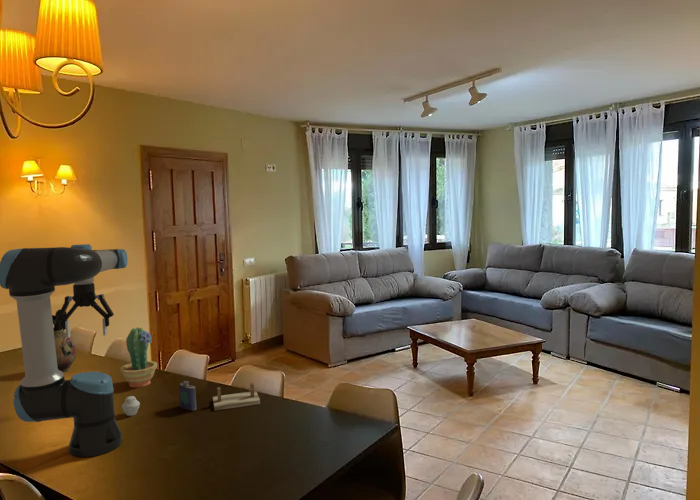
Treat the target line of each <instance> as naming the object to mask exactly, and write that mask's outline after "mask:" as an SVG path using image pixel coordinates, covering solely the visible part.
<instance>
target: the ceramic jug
mask: <svg viewBox="0 0 700 500" xmlns="http://www.w3.org/2000/svg"><path fill="white" fill-rule="evenodd" d="M61 309H62V308H60V309H57V310H56V311H55V315H53V314H52V320H53V329H54V339H55V348H56V357H57V366H58V370H60V371H62V372H63V373H65V372H68V371H69V370H70V368H71V366H72V365H73V363H74V362H75V360H76V358H77V349H76V345H75V343H74V342H73V340H72V339H71V336H70V337H69V338H66V330H65V329H63V322H62V321H61V320H57V317H58V315H59V313H60V311H61ZM66 314H67V310H66V311H65V314H64V316H63V317H65V315H66Z"/></svg>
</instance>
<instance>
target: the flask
mask: <svg viewBox="0 0 700 500" xmlns="http://www.w3.org/2000/svg"><path fill="white" fill-rule="evenodd" d="M178 386H179V408H181V410H185V411H189V412H195V411H197V396H196V395H197V394H196V392H197V391H196V386H194V385H190V381H189V380H188V381H187V380H183V382H181V383H179V385H178Z"/></svg>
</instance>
